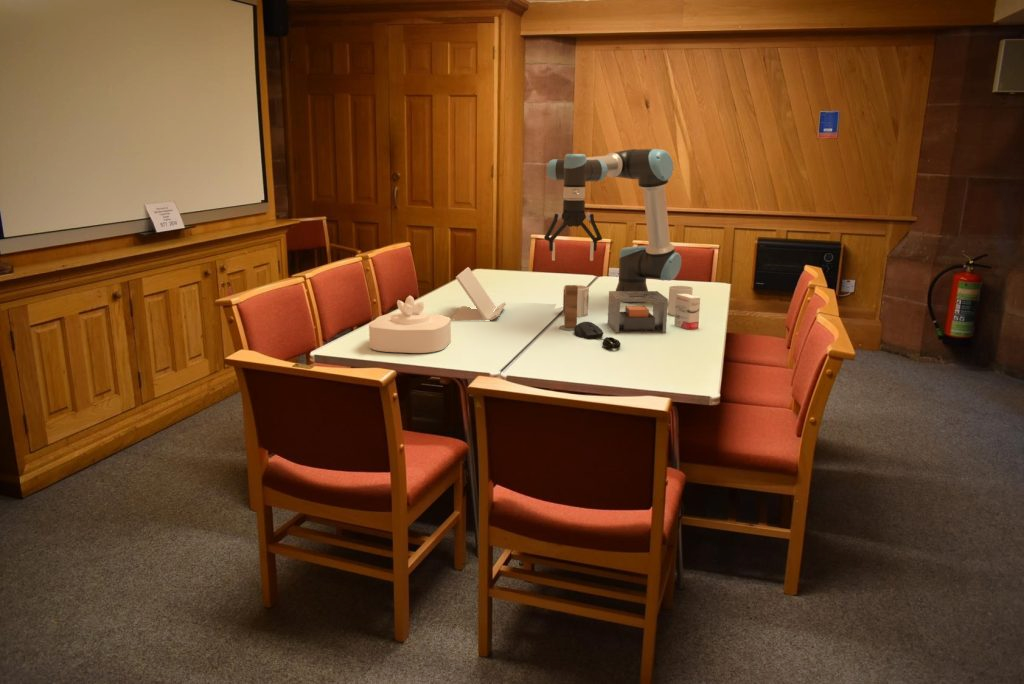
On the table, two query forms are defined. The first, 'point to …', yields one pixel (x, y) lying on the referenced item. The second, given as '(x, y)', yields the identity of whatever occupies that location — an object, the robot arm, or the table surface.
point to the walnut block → (570, 306)
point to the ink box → (687, 311)
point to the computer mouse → (595, 334)
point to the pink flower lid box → (410, 330)
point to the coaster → (566, 328)
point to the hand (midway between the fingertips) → (572, 260)
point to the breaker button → (636, 311)
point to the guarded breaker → (637, 323)
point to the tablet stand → (476, 300)
